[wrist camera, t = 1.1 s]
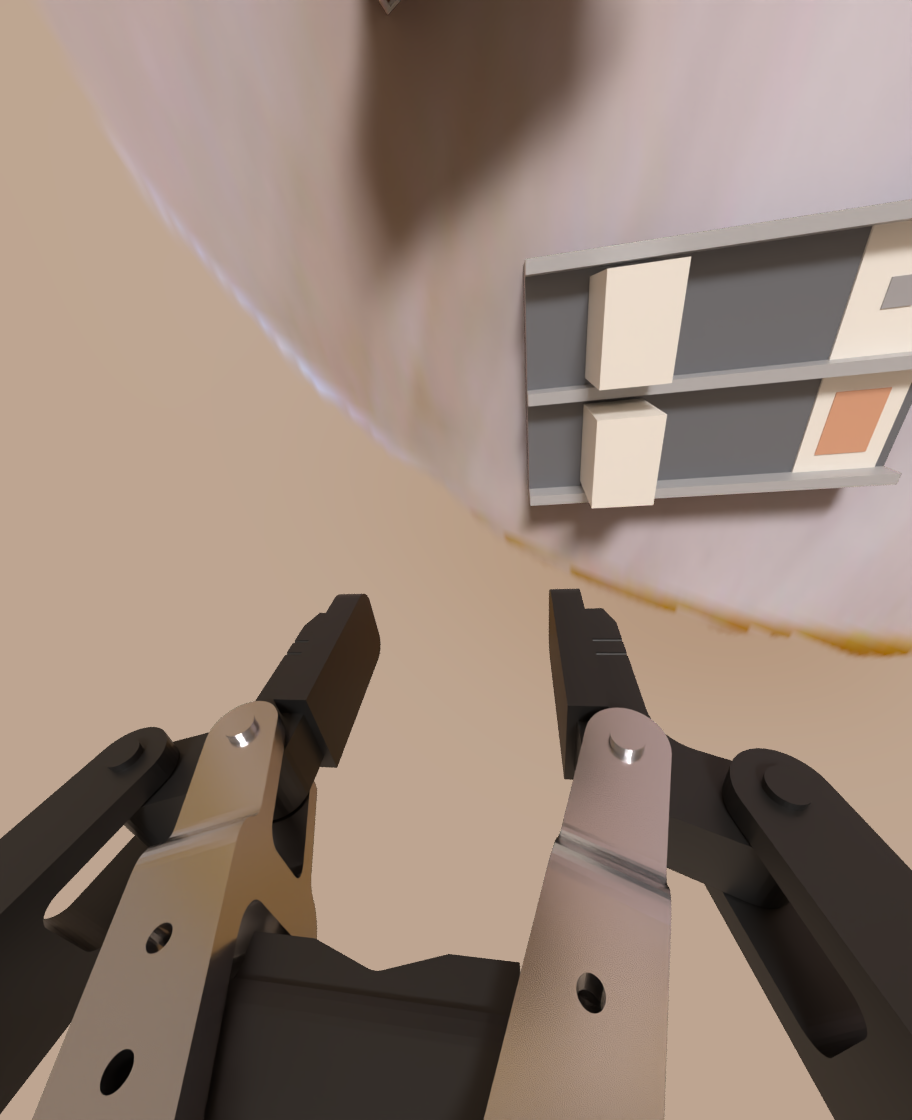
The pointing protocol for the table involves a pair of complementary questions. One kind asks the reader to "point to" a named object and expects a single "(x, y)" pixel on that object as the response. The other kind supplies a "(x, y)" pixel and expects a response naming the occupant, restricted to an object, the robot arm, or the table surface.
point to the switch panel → (742, 356)
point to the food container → (388, 5)
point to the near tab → (635, 323)
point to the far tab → (621, 452)
